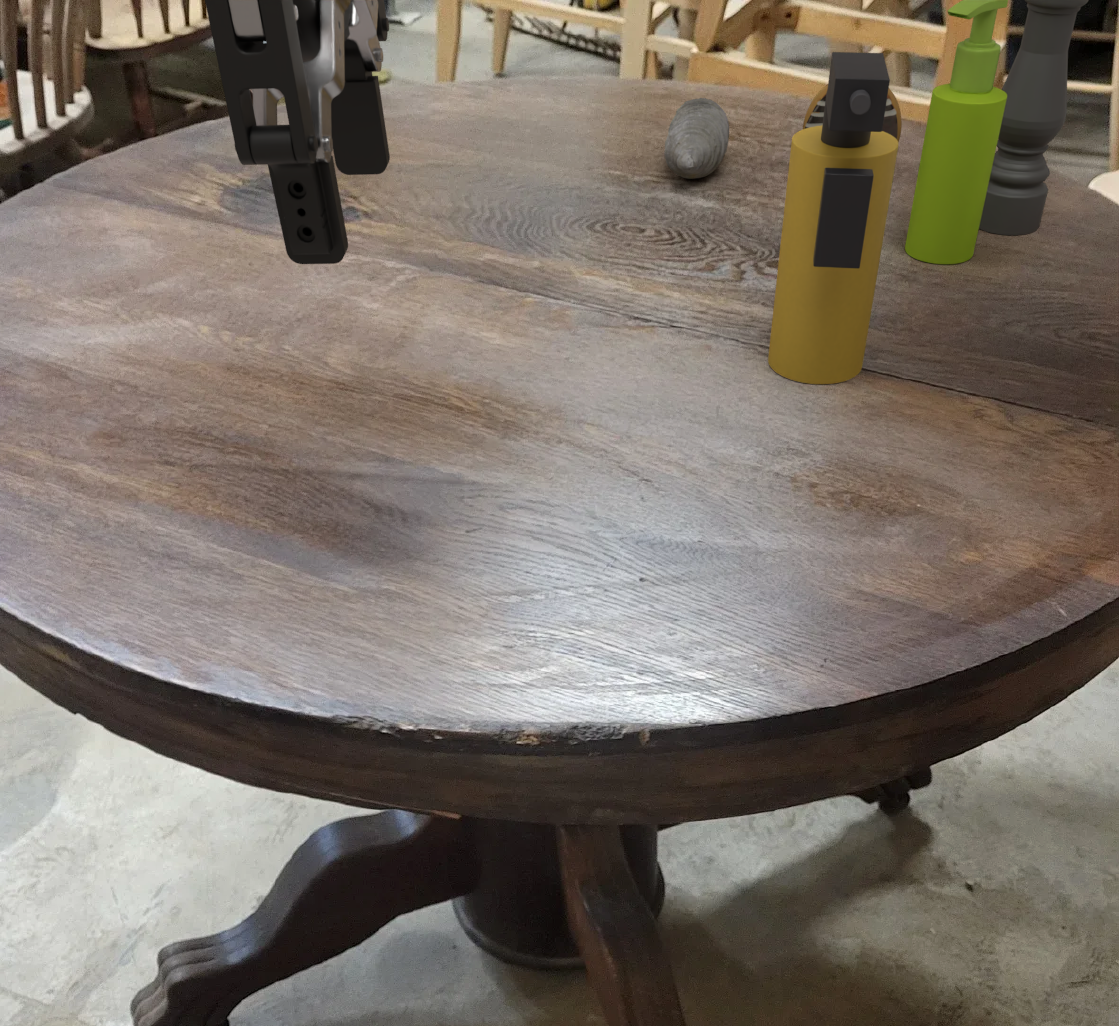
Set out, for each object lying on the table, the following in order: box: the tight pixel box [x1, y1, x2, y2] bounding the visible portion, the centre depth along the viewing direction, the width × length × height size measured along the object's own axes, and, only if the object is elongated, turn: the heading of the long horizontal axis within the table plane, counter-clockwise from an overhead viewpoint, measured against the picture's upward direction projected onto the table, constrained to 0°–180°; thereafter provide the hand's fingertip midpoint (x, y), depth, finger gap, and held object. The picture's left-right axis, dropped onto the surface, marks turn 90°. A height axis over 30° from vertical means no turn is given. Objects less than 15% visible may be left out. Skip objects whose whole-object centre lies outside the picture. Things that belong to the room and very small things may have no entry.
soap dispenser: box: [904, 0, 1009, 265], centre depth 101 cm, size 6×7×20 cm
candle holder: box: [979, 0, 1089, 236], centre depth 105 cm, size 6×6×25 cm
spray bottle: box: [767, 51, 899, 385], centre depth 83 cm, size 7×11×22 cm, turn 172°
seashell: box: [664, 97, 730, 180], centre depth 122 cm, size 6×14×8 cm, turn 172°
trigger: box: [813, 168, 874, 268], centre depth 79 cm, size 3×1×6 cm, turn 82°
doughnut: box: [802, 83, 903, 143], centre depth 119 cm, size 9×4×10 cm, turn 77°
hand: (343, 212), depth 49 cm, fingers open, 8 cm apart
